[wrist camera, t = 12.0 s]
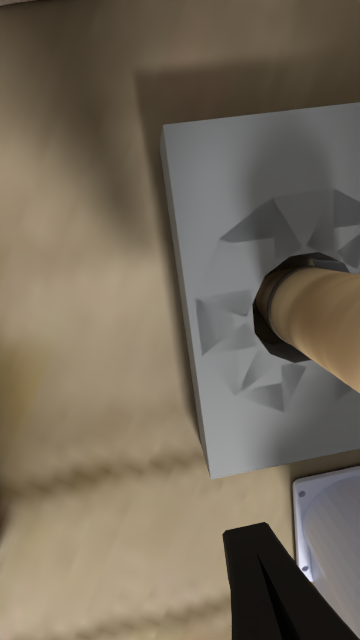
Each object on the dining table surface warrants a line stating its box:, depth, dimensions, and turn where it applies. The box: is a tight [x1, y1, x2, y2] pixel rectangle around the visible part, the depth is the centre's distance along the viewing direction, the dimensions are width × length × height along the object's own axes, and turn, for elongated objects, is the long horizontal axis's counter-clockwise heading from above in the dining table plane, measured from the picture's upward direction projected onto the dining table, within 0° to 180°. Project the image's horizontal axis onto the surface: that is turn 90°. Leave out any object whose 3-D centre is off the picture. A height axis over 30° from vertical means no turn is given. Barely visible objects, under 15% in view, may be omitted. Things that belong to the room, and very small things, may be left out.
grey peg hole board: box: [159, 102, 360, 479], centre depth 17 cm, size 18×16×3 cm
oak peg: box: [256, 266, 360, 393], centre depth 14 cm, size 4×4×9 cm
